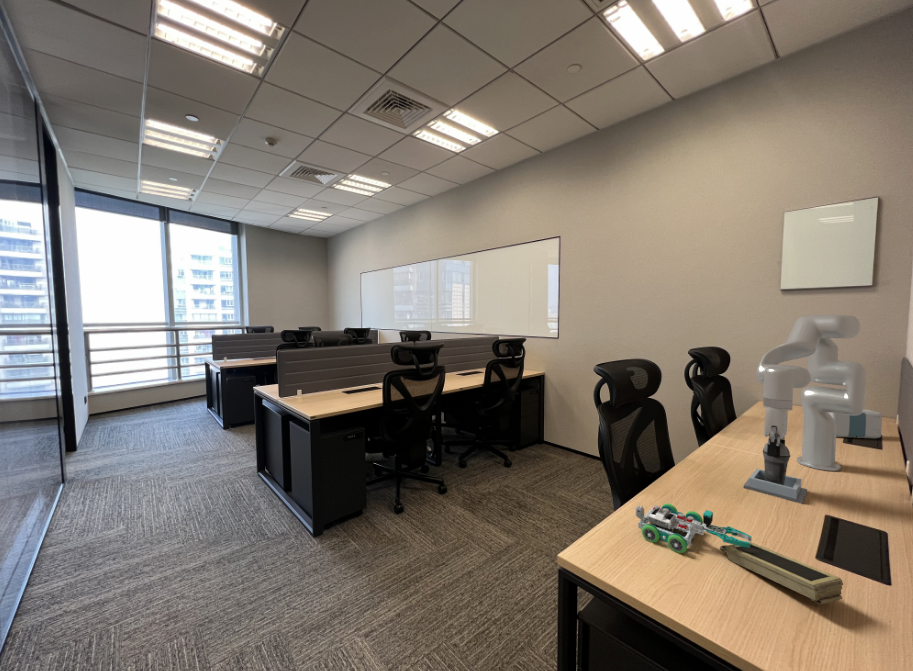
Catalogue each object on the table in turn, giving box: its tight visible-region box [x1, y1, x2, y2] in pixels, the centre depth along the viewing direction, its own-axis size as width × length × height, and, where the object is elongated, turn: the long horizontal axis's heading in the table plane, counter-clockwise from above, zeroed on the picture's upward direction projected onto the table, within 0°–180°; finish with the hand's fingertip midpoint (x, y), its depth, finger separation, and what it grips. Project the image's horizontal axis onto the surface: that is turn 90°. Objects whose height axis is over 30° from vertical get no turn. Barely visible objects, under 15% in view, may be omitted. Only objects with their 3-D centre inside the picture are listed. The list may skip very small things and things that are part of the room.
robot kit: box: [635, 503, 752, 554], centre depth 98 cm, size 19×25×9 cm
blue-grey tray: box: [743, 468, 808, 505], centre depth 126 cm, size 12×15×4 cm
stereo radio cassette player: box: [828, 395, 883, 440], centre depth 183 cm, size 21×8×20 cm, turn 80°
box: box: [719, 541, 844, 605], centre depth 83 cm, size 8×22×5 cm, turn 16°
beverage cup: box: [762, 442, 791, 485], centre depth 126 cm, size 7×7×20 cm
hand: (776, 453), depth 126 cm, fingers open, 9 cm apart
